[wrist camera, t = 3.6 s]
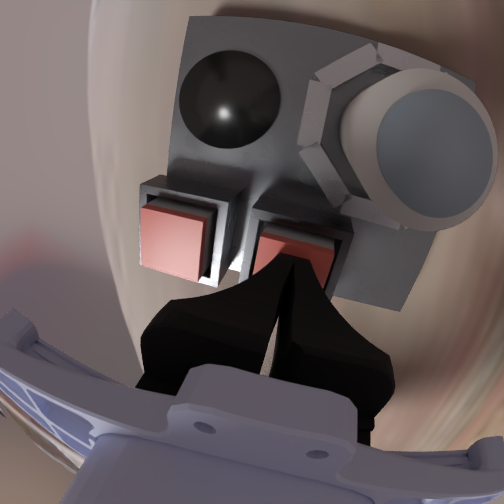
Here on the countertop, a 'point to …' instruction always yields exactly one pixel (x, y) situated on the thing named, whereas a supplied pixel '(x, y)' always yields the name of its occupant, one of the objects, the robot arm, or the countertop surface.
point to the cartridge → (421, 148)
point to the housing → (285, 149)
